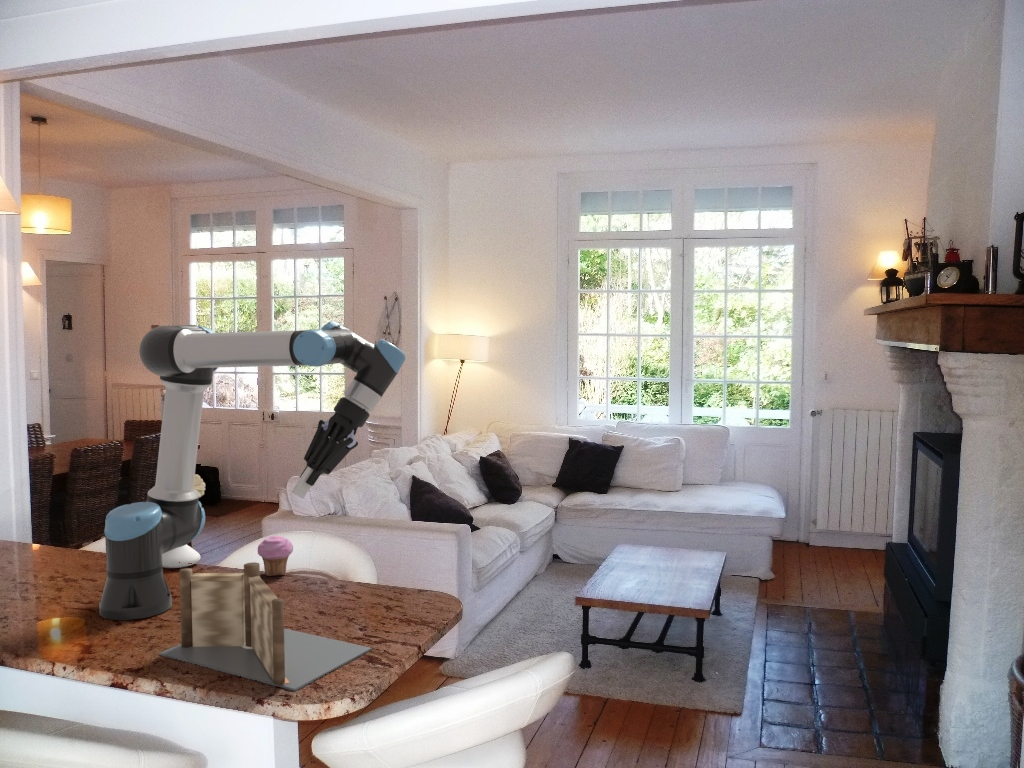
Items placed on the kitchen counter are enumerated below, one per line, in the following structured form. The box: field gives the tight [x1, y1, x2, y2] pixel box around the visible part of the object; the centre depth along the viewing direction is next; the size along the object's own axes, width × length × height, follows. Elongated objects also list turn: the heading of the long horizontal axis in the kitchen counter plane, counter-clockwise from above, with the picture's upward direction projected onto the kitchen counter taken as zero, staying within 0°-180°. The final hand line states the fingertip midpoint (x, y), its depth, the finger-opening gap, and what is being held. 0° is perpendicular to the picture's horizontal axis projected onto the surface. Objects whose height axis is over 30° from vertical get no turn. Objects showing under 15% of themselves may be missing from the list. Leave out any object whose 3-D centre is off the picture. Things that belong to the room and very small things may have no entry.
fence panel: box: [249, 576, 285, 685], centre depth 163 cm, size 21×2×15 cm, turn 28°
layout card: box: [158, 627, 373, 692], centre depth 171 cm, size 35×22×1 cm, turn 62°
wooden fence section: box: [179, 561, 261, 648], centre depth 173 cm, size 16×3×16 cm, turn 92°
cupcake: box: [257, 535, 294, 577], centre depth 224 cm, size 9×9×10 cm
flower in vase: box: [162, 473, 206, 569], centre depth 231 cm, size 13×11×25 cm
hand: (297, 495), depth 189 cm, fingers closed
